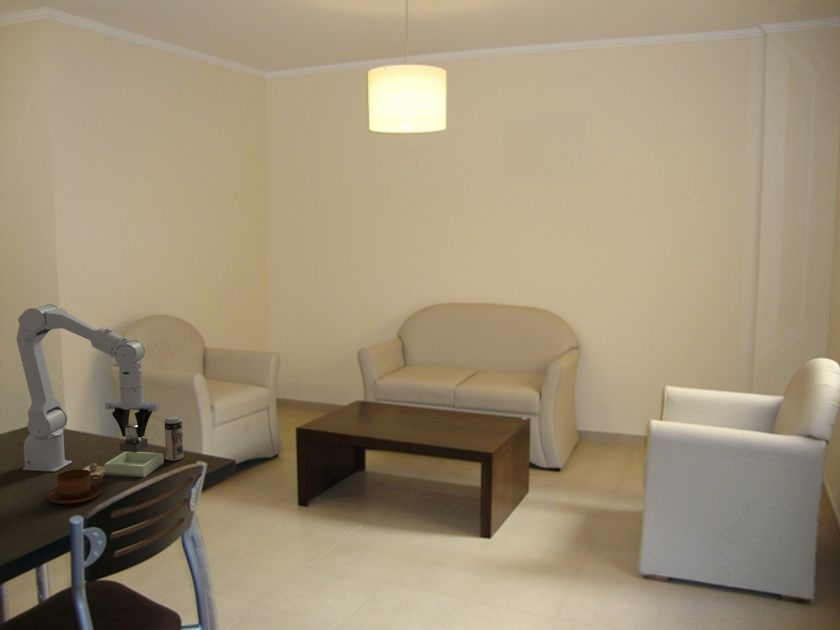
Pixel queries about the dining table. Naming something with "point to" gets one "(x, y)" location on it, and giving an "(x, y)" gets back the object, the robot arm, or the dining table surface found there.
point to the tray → (134, 464)
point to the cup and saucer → (75, 487)
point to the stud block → (95, 470)
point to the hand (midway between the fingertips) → (133, 436)
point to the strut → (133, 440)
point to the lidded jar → (173, 438)
